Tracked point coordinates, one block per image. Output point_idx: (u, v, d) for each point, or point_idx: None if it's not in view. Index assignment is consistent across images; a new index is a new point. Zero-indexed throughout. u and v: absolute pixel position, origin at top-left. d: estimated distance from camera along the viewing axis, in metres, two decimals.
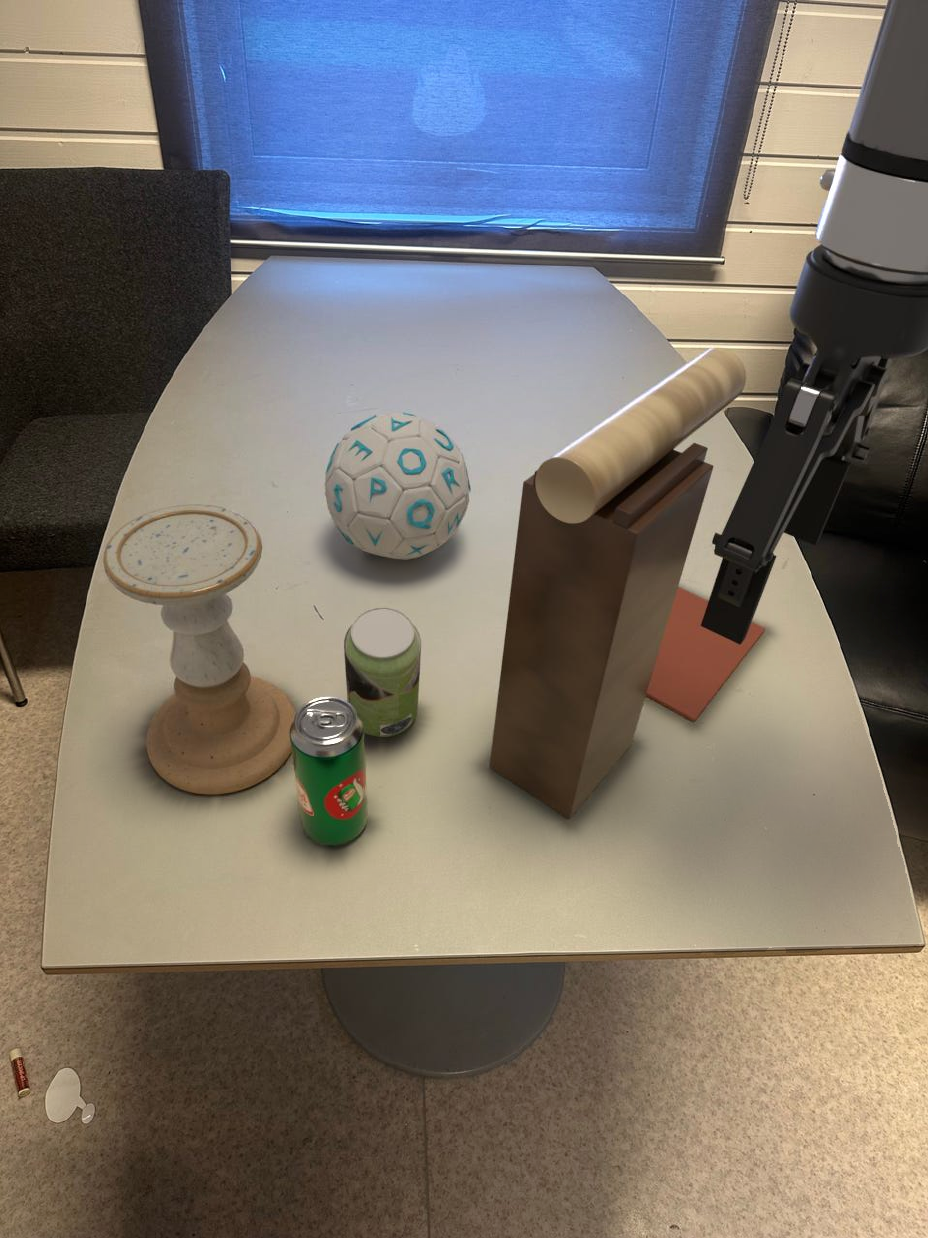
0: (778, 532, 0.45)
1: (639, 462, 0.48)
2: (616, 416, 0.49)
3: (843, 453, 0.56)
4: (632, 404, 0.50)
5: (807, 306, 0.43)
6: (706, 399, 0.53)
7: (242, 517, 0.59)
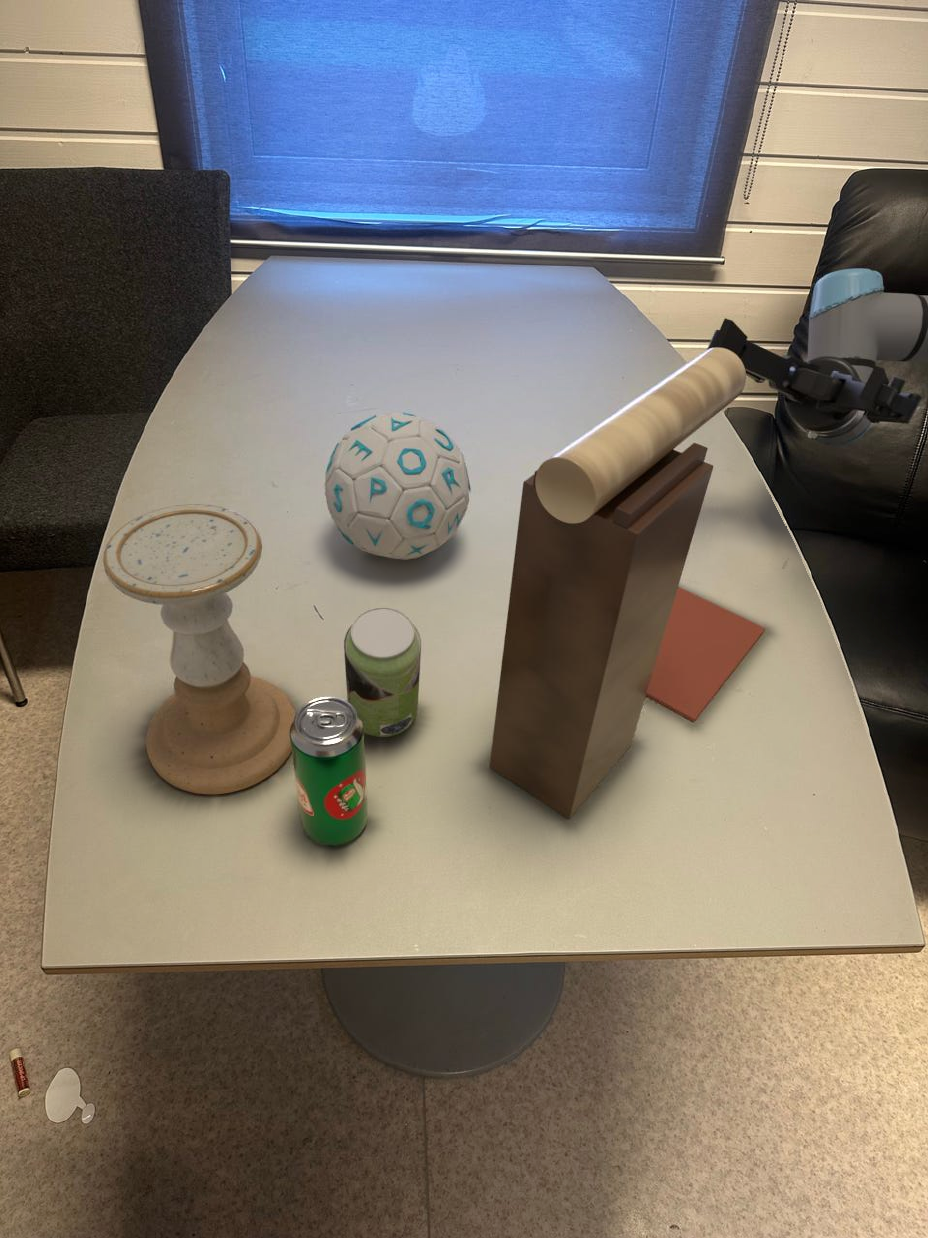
0: None
1: (639, 462, 0.48)
2: (616, 416, 0.49)
3: None
4: (632, 404, 0.50)
5: None
6: (706, 399, 0.53)
7: (242, 517, 0.59)
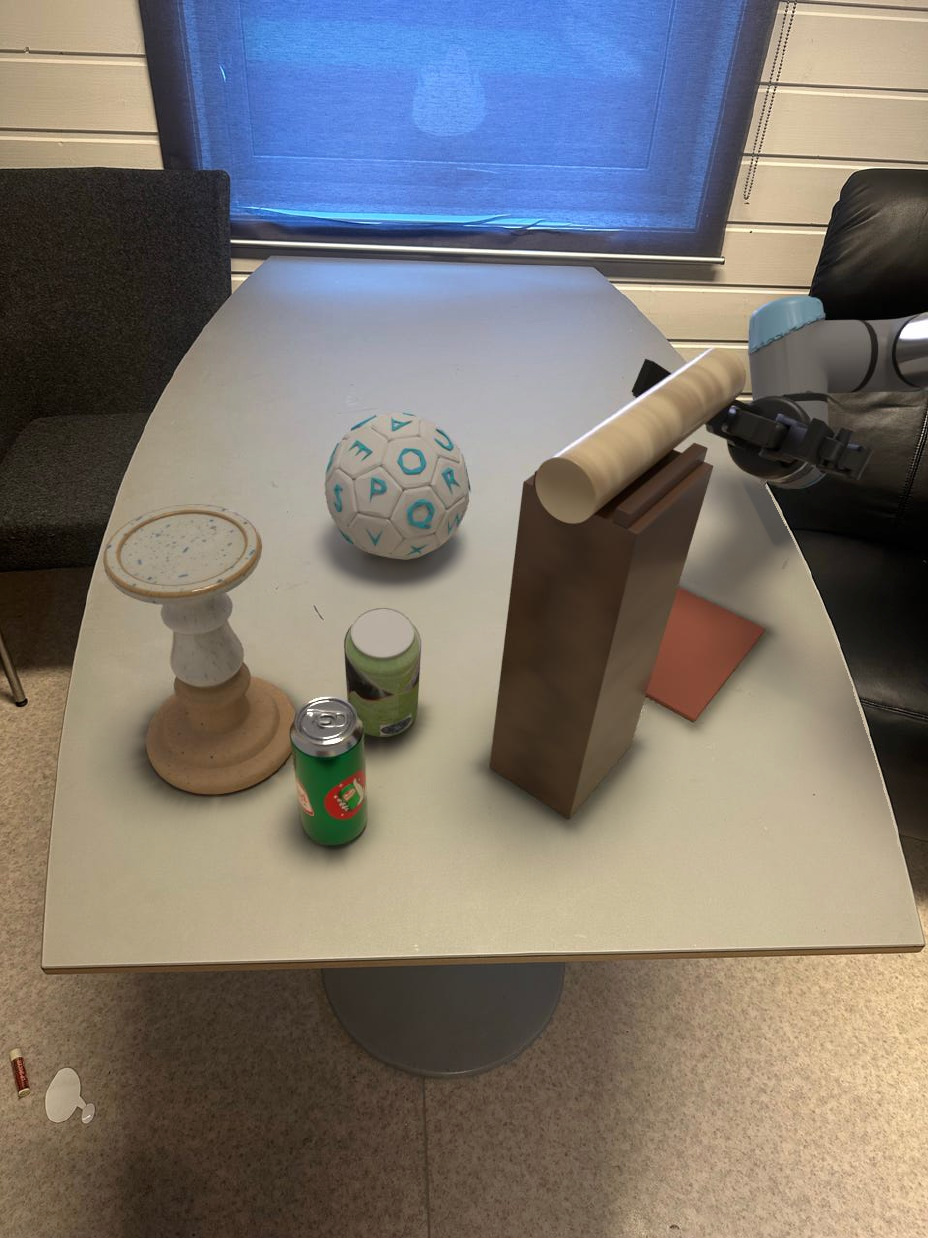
0: None
1: (639, 462, 0.48)
2: (616, 416, 0.49)
3: None
4: (632, 404, 0.50)
5: None
6: (706, 399, 0.53)
7: (242, 517, 0.59)
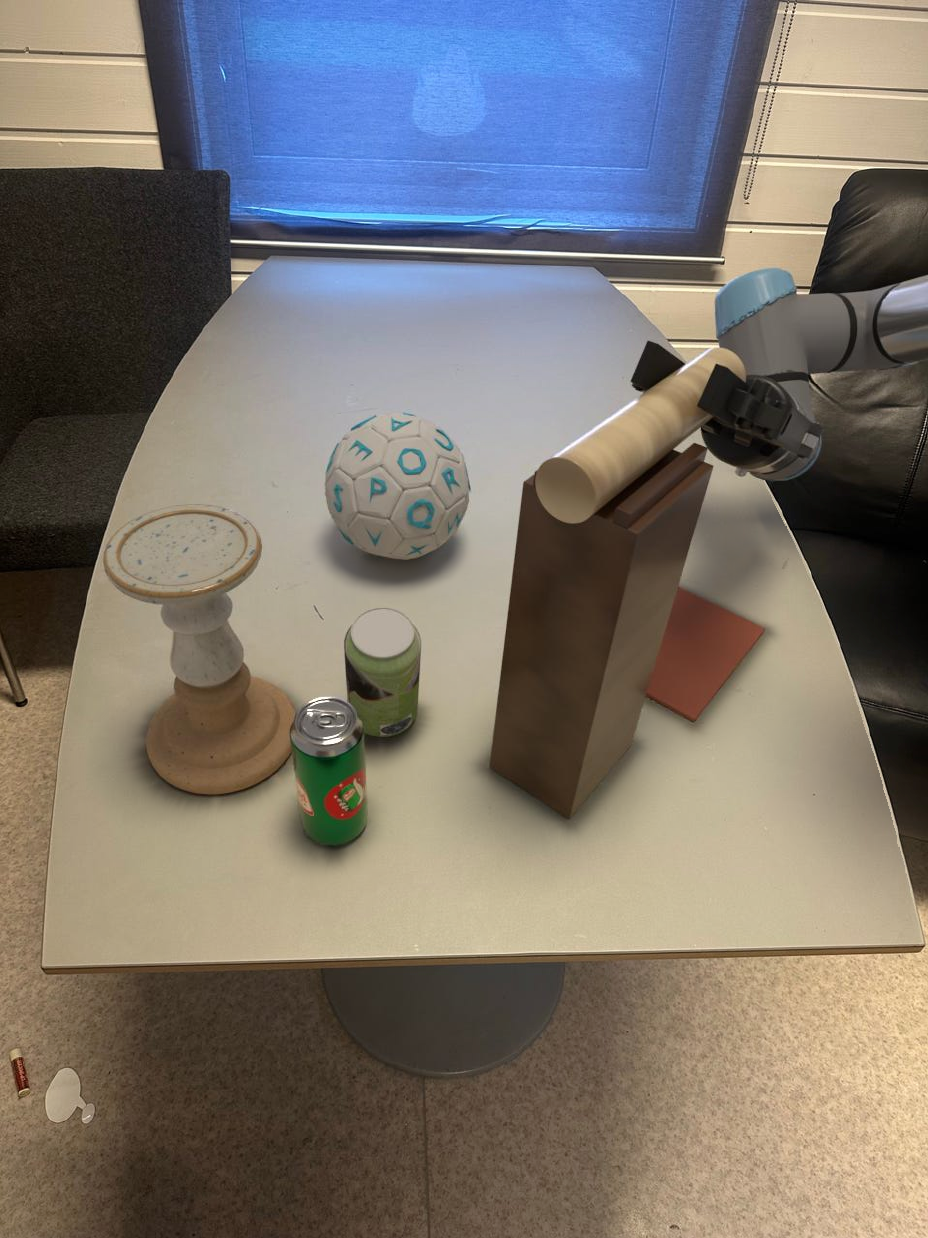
0: None
1: (639, 462, 0.48)
2: (616, 416, 0.49)
3: None
4: (632, 404, 0.50)
5: None
6: None
7: (242, 517, 0.59)
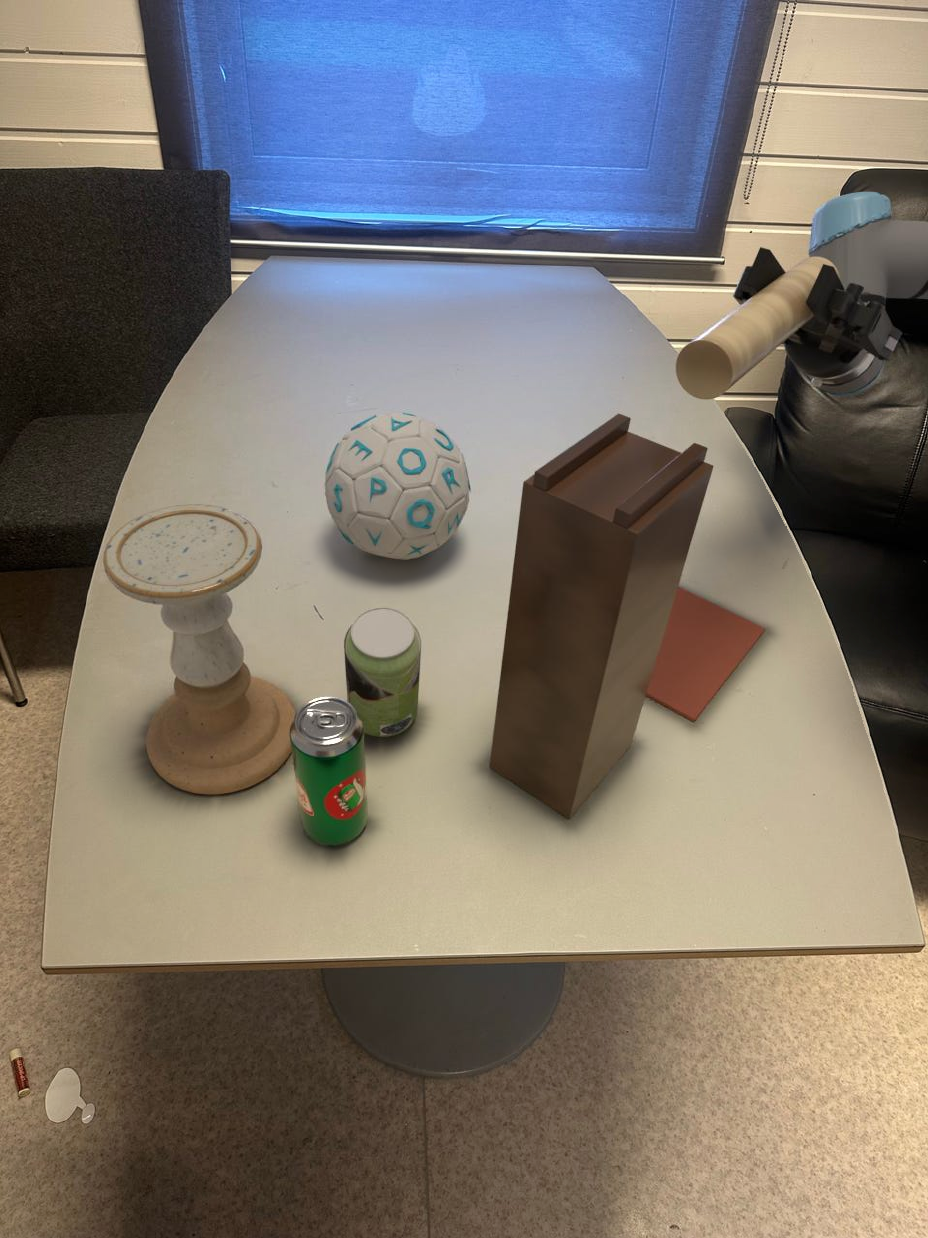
0: None
1: (763, 347, 0.56)
2: (740, 309, 0.57)
3: None
4: (751, 300, 0.58)
5: None
6: None
7: (242, 517, 0.59)
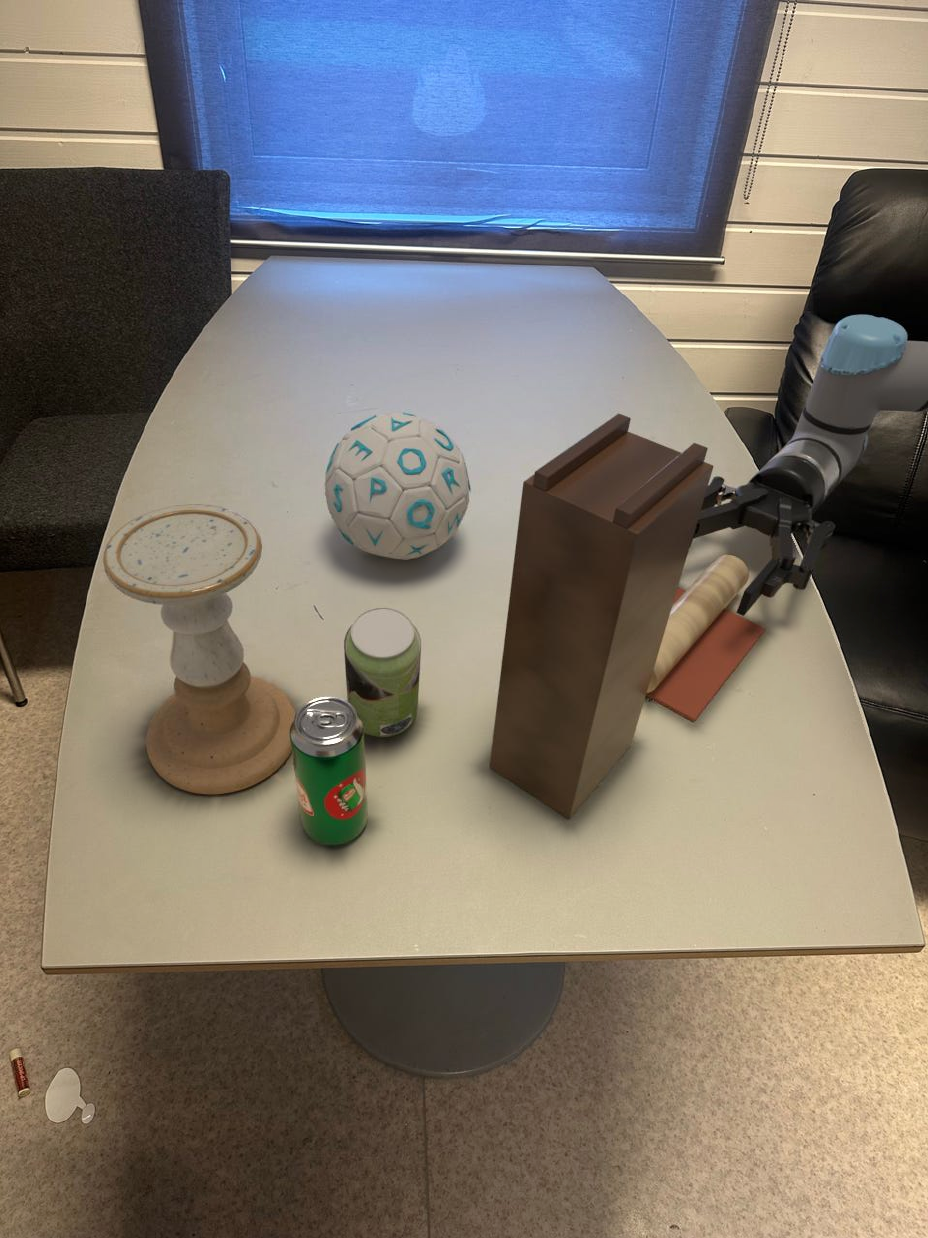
0: None
1: (682, 653, 0.76)
2: (668, 620, 0.77)
3: (779, 564, 0.80)
4: (678, 609, 0.79)
5: None
6: (723, 600, 0.82)
7: (242, 517, 0.59)
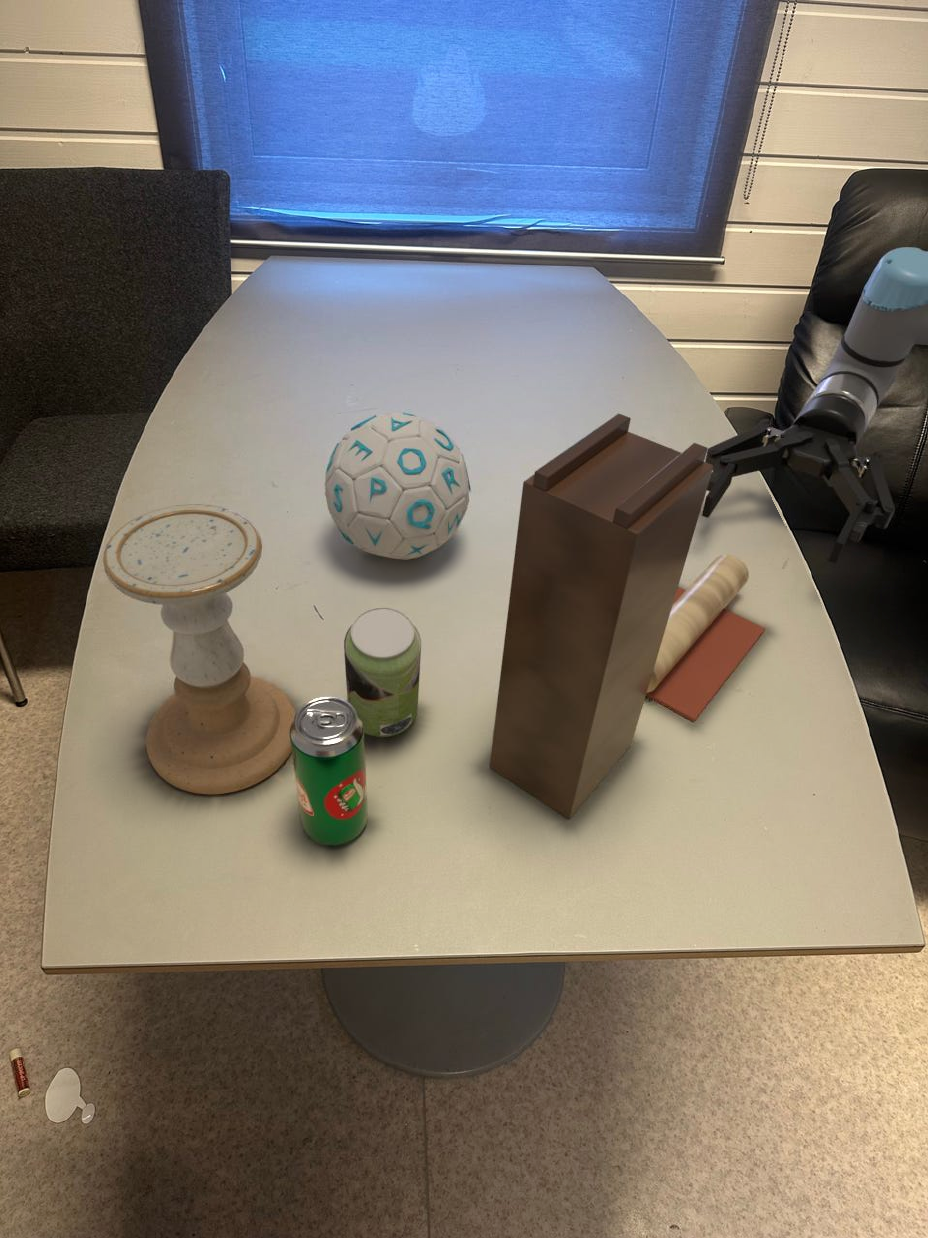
0: (734, 453, 0.92)
1: (682, 653, 0.76)
2: (668, 620, 0.77)
3: (861, 509, 0.86)
4: (677, 609, 0.79)
5: None
6: (723, 600, 0.82)
7: (242, 517, 0.59)
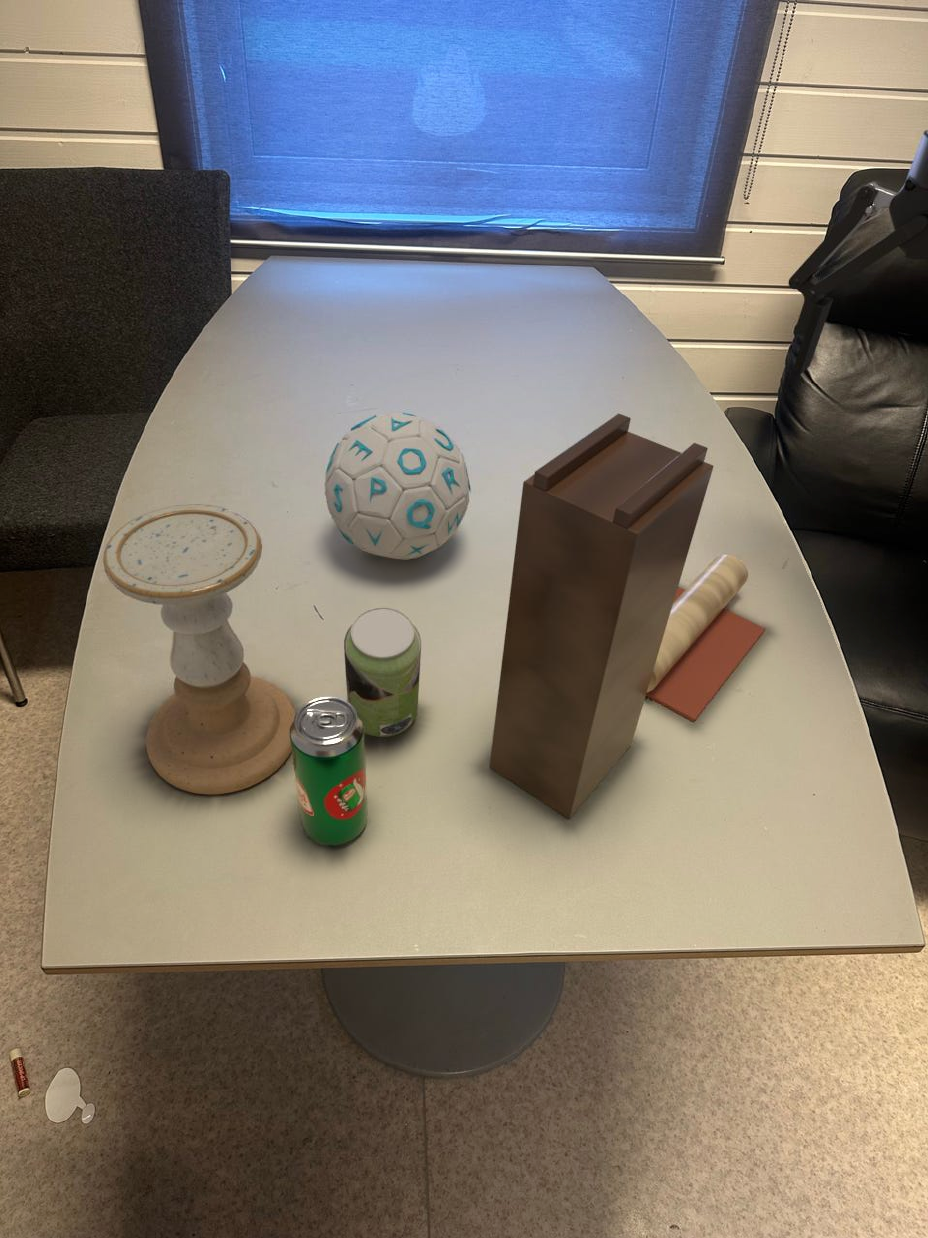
0: (821, 280, 0.73)
1: (681, 652, 0.76)
2: None
3: None
4: (676, 609, 0.79)
5: None
6: (722, 599, 0.82)
7: (242, 517, 0.59)
